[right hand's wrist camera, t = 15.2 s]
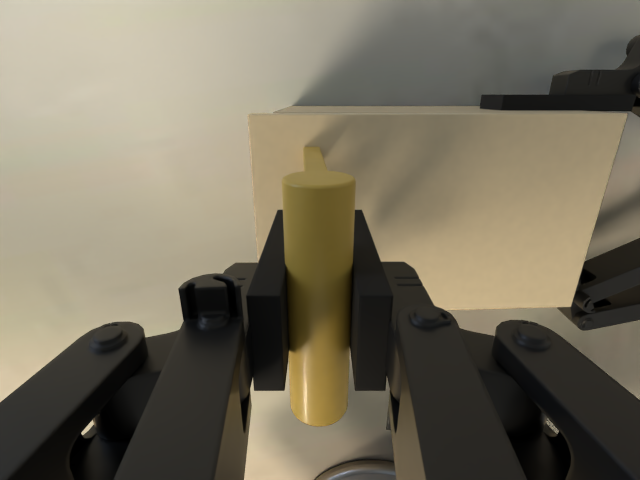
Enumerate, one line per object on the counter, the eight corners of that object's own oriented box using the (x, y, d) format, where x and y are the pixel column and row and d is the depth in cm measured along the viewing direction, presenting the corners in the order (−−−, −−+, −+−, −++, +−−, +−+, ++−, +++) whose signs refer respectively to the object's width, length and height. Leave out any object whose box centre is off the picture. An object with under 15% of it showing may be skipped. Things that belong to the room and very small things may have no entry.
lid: (263, 304, 19) (235, 458, 11) (250, 113, 16) (196, 132, 8) (558, 297, 20) (736, 436, 12) (609, 112, 16) (914, 129, 8)
